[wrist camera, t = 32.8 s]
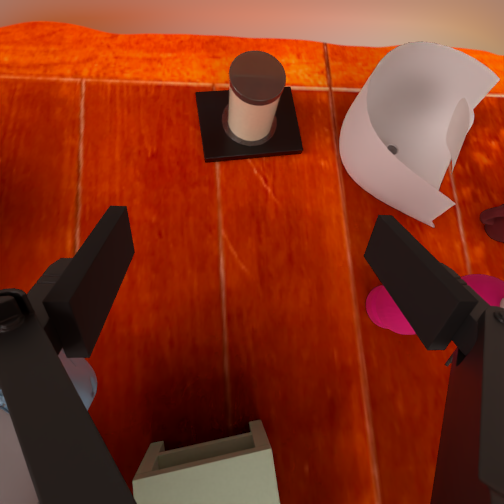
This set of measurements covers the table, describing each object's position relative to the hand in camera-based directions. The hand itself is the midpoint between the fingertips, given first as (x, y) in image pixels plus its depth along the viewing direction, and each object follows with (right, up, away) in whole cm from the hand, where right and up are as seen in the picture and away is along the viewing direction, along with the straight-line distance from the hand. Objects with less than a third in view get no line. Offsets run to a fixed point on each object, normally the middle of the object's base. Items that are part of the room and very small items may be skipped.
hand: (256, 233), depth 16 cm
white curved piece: (+22, +14, +32) cm, 41 cm away
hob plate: (-1, +19, +30) cm, 36 cm away
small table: (-5, -30, +21) cm, 37 cm away
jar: (-1, +19, +29) cm, 35 cm away
